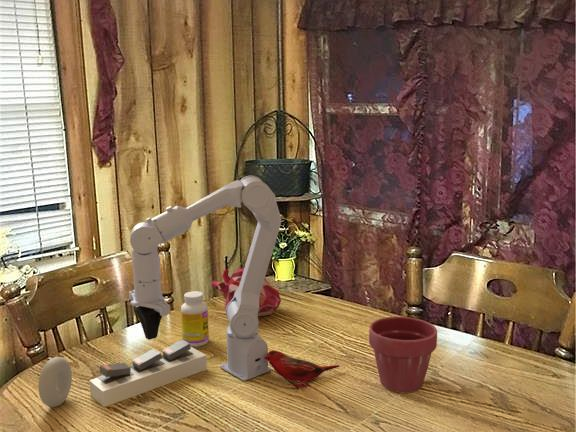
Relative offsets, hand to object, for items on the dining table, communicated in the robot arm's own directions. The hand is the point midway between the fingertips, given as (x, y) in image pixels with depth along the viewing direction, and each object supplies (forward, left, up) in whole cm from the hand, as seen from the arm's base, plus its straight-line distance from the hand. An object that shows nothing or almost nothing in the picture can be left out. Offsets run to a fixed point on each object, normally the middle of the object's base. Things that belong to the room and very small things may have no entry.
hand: (151, 337), depth 137 cm
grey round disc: (+3, +20, -10) cm, 23 cm away
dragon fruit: (+17, -39, -10) cm, 43 cm away
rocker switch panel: (-1, +1, -10) cm, 10 cm away
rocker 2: (0, +1, -5) cm, 5 cm away
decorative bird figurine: (-27, -22, -10) cm, 36 cm away
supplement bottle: (+10, -18, -10) cm, 23 cm away
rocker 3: (0, -6, -5) cm, 8 cm away
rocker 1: (0, +9, -5) cm, 10 cm away
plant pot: (-39, -39, -10) cm, 56 cm away
